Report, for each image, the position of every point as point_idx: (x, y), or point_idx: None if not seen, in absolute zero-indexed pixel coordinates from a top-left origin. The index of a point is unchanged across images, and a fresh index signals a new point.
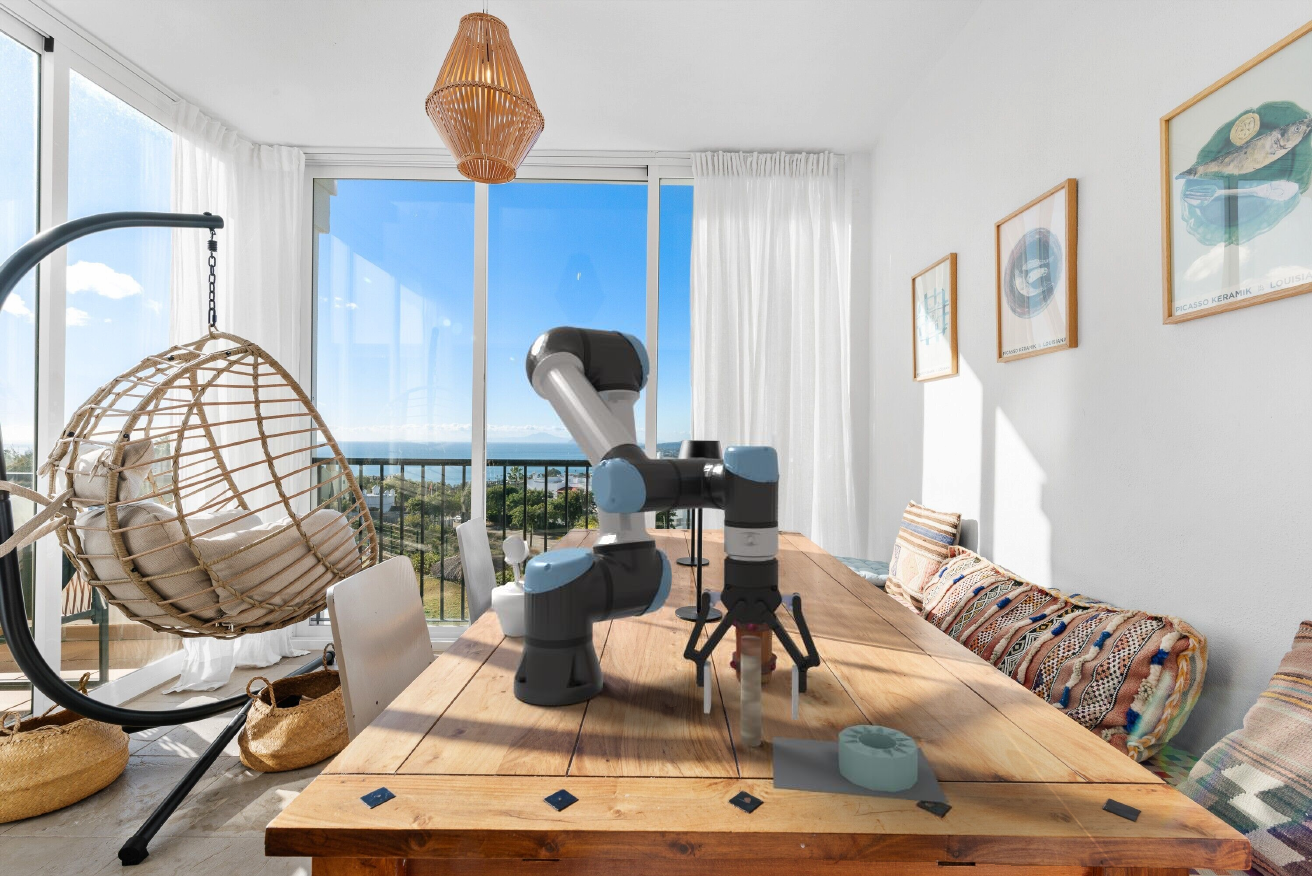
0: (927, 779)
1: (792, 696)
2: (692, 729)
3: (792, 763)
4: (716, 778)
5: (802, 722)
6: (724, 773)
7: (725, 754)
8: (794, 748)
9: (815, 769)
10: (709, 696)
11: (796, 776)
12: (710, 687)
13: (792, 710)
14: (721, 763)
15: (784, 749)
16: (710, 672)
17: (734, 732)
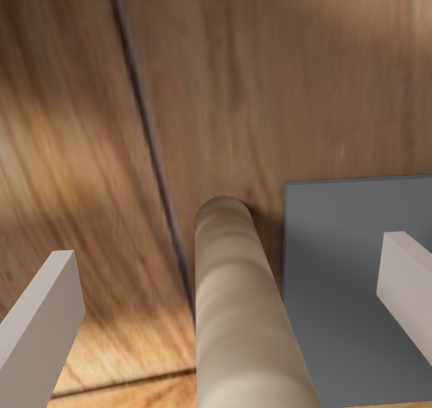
0: None
1: (417, 324)
2: (27, 149)
3: (330, 317)
4: (157, 381)
5: (398, 5)
6: (171, 360)
7: (160, 280)
8: (345, 241)
9: (380, 331)
10: (67, 354)
11: (332, 366)
12: (50, 323)
13: (389, 293)
14: (157, 322)
15: (317, 252)
16: (21, 379)
17: (166, 142)
